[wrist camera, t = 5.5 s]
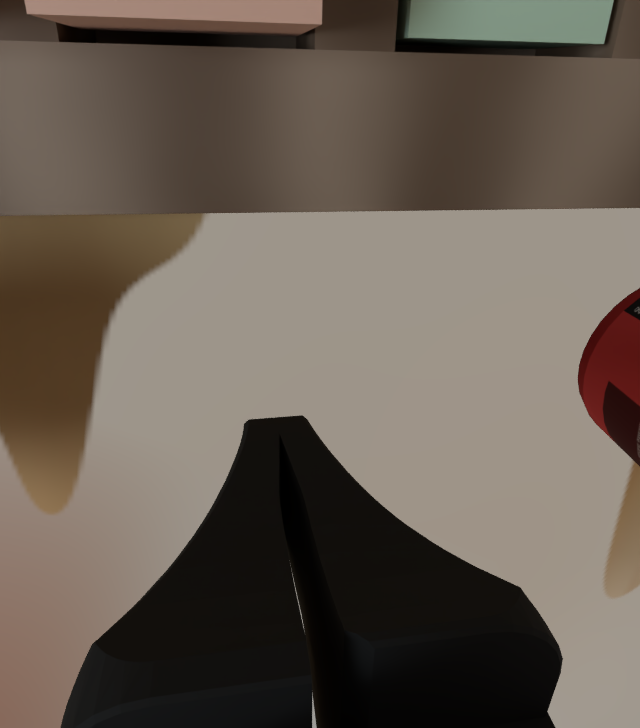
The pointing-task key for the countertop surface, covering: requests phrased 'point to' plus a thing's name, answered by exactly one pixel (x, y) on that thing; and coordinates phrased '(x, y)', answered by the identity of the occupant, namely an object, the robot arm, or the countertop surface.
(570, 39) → the key green
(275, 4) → the key terracotta
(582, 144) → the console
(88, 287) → the countertop surface
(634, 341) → the canned food
